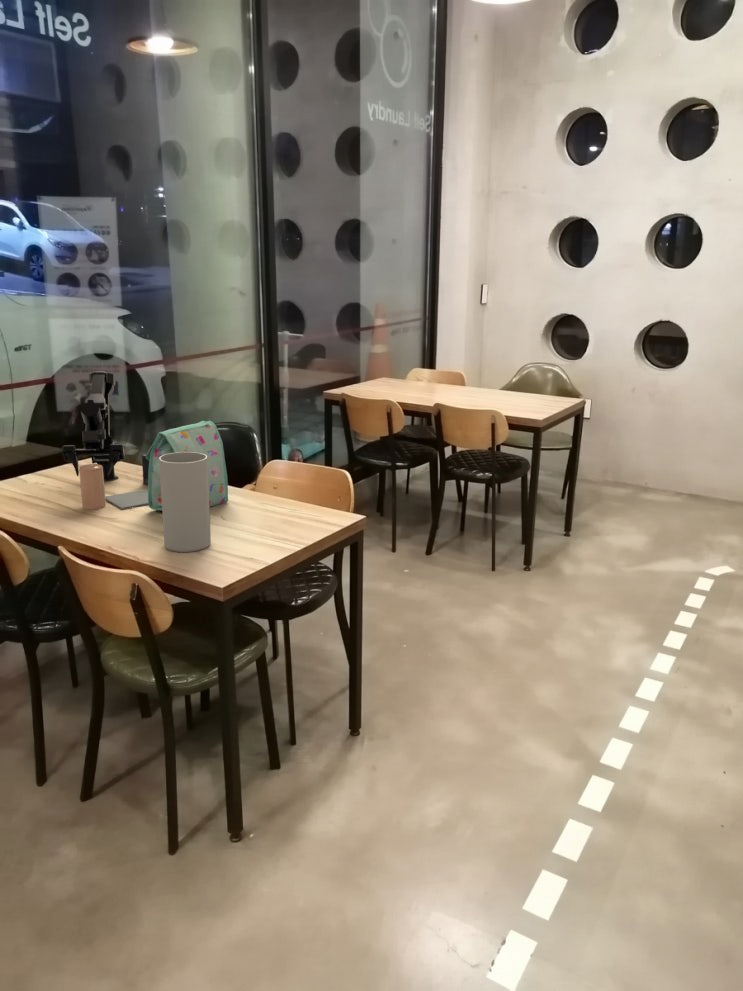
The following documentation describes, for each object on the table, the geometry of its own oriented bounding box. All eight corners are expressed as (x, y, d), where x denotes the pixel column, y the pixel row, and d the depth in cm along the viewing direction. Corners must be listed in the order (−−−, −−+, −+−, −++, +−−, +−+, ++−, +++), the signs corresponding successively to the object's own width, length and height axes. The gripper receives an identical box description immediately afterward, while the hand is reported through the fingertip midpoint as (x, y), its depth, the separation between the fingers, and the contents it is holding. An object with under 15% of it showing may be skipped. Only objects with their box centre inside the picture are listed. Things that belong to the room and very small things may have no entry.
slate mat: (103, 498, 253) (103, 496, 253) (146, 491, 263) (146, 489, 262) (121, 509, 242) (121, 507, 242) (166, 501, 252) (166, 499, 251)
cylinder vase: (192, 534, 221) (188, 449, 214) (220, 544, 214) (216, 457, 207) (155, 545, 212) (149, 457, 205) (183, 556, 204) (178, 465, 197)
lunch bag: (198, 494, 260) (194, 415, 253) (233, 503, 252) (230, 421, 244) (143, 510, 242) (138, 426, 234) (180, 520, 233) (175, 433, 226)
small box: (160, 485, 269) (158, 456, 266) (142, 484, 270) (140, 455, 267) (172, 478, 279) (170, 449, 276) (155, 477, 280) (153, 448, 277)
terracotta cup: (79, 505, 245) (76, 466, 242) (100, 501, 250) (97, 463, 246) (87, 510, 241) (84, 470, 237) (108, 506, 245) (105, 467, 241)
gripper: (59, 420, 243) (56, 462, 236) (121, 419, 247) (120, 460, 240) (66, 439, 253) (63, 481, 245) (125, 438, 256) (124, 478, 249)
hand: (92, 475), depth 245 cm, fingers open, 9 cm apart
